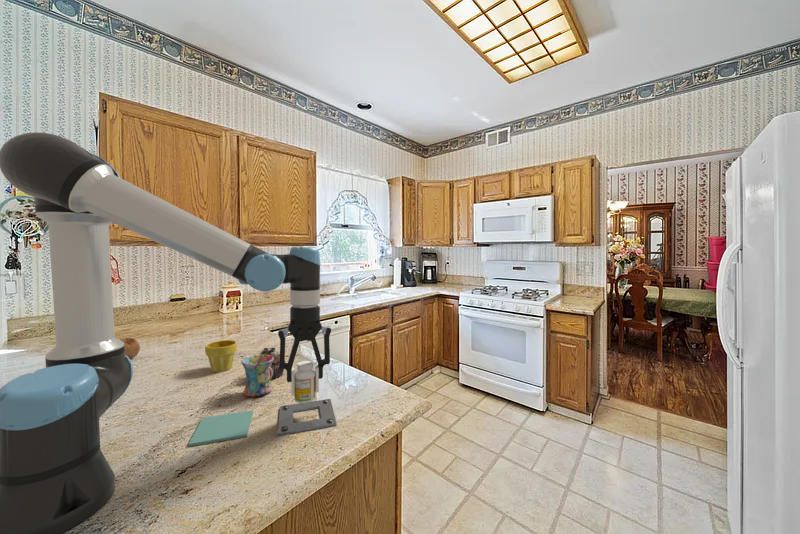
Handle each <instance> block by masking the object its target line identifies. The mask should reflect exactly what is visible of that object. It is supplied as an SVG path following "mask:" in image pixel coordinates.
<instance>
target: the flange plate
mask: <svg viewBox="0 0 800 534" xmlns="http://www.w3.org/2000/svg"><path fill="white" fill-rule="evenodd" d="M316 409H317V410H318V409H319V414H320V418H316V419H312V420H311V419H310V420H304V421H298V422H294V413H297V412H302V411H303V412H304V411H309V410H316ZM334 411H335V410H334V407H333V405H332V399H331V398H326V399H320V400H313V401H311V402H308V403H293V404H287V405H285V404H284V405H280V406H279V415H278V416H279V417H278V425H277V436H278V437H279V436H283V435H289V434H294V433H301V432H306V431H312V430H318V429H323V428H324V429H325V428H330V427H336V426H337V419H336V415H335V412H334Z"/></svg>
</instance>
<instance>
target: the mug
mask: <svg viewBox="0 0 800 534" xmlns="http://www.w3.org/2000/svg"><path fill="white" fill-rule="evenodd" d="M273 360H274V357H273V356H271V355H260V354H254V355H251V356H247V357H245V358H243V359H242V360H241V362H240V363H241V365H242V366H243V369H244V371H245V376H246V377H245V378H246V379H245V380H246V383H245V387H244V390H243V394H244V395H245V396H247V397H260V396H263V395H267V394H269V393H271V391H272V390H273V388H274V385H273V384H272V380H271V379H272V376H273V370H272V368H271V365H272V362H273ZM270 371H271V375H270Z"/></svg>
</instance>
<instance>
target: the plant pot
mask: <svg viewBox="0 0 800 534" xmlns="http://www.w3.org/2000/svg"><path fill="white" fill-rule="evenodd" d="M204 351H205V353H204V354H205V356H207V358H208V361H209V365H210V368H211V371H212V372H214V373H222V372H223V373H224V372H227V371H230V370H231V369H233V364H234V359H235V354H236V352H237V351H238V342H237V341H236V340H232V339H223V340H216V341H212V342H209V343H207V344H205V345H204Z"/></svg>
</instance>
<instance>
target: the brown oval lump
mask: <svg viewBox="0 0 800 534" xmlns="http://www.w3.org/2000/svg"><path fill="white" fill-rule="evenodd" d="M118 339H119V338H118ZM119 340H121V341H122V342H124V344H125V355H126V356H128V357H129V359H130V360H131V359H133V358H135V357H136V356H137V355H138V354H139V353H140V350H141V345H140V343H139V342H138V340H136V339H135V338H133V337H126V338H120V339H119Z"/></svg>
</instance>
